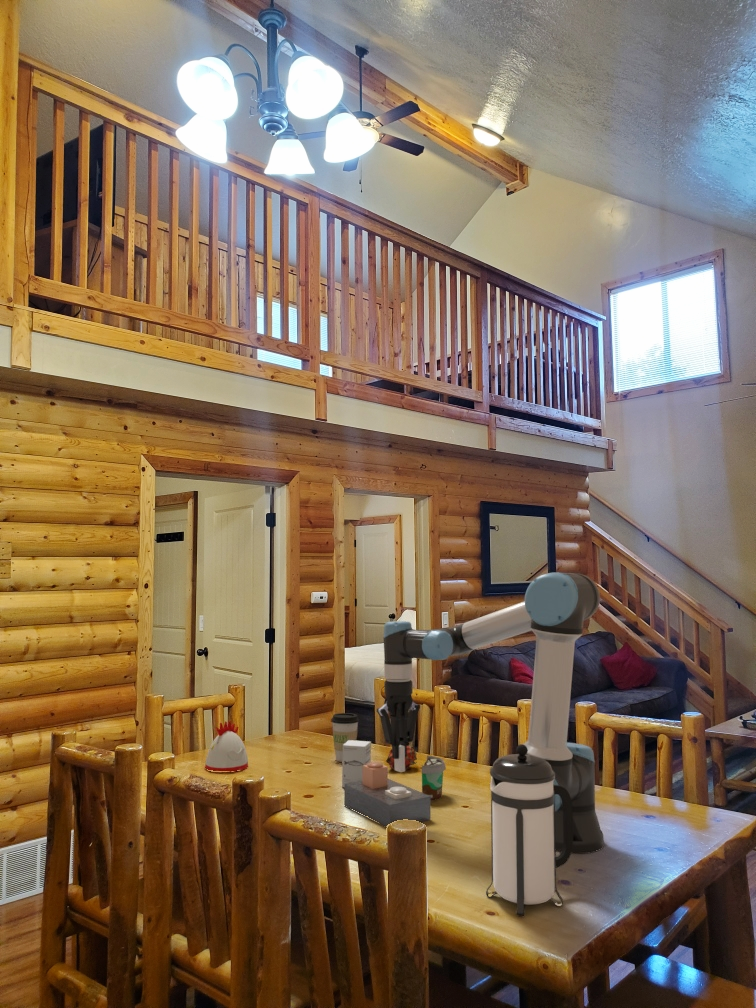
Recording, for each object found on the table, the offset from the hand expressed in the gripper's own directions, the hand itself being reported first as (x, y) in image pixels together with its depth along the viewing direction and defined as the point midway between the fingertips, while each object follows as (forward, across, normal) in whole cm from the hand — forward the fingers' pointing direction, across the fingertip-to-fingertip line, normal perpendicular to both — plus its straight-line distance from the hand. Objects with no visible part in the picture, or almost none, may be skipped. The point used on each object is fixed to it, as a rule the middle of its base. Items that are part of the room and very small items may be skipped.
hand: (399, 770), depth 191 cm
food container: (+13, -20, -10) cm, 26 cm away
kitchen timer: (+11, +18, -73) cm, 76 cm away
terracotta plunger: (+7, 0, -12) cm, 14 cm away
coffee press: (+14, +6, +52) cm, 54 cm away
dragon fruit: (+12, -29, -39) cm, 50 cm away
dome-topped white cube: (+11, 0, -1) cm, 11 cm away
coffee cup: (+11, -20, -60) cm, 64 cm away
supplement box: (+12, -7, -32) cm, 35 cm away
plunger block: (+12, 0, -6) cm, 14 cm away
